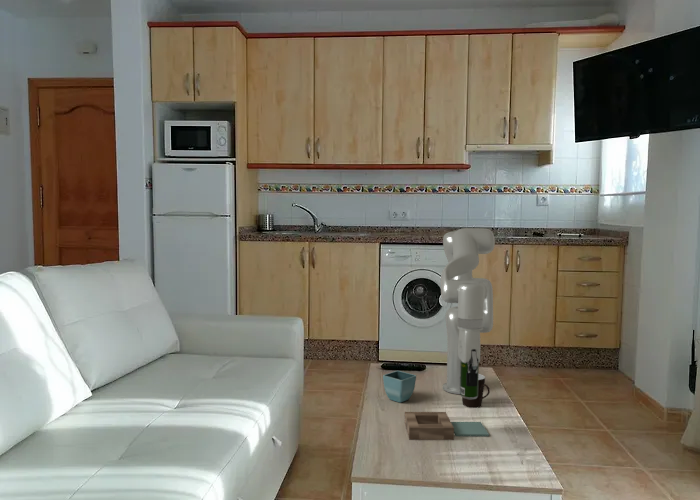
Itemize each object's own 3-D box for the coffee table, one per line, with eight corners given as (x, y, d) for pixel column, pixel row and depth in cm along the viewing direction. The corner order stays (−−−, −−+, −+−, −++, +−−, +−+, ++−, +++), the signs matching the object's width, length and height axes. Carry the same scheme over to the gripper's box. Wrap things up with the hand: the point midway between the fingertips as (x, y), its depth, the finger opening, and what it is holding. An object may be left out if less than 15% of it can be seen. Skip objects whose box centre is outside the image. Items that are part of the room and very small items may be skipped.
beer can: (469, 400, 158) (469, 361, 157) (456, 395, 162) (456, 357, 162) (481, 397, 161) (482, 358, 160) (468, 392, 165) (469, 354, 165)
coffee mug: (456, 400, 189) (456, 372, 188) (480, 400, 190) (480, 372, 189) (466, 412, 177) (466, 382, 177) (491, 411, 178) (491, 382, 177)
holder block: (404, 422, 168) (404, 411, 168) (445, 422, 168) (445, 411, 168) (409, 439, 155) (409, 427, 155) (453, 439, 155) (453, 428, 155)
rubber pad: (448, 423, 167) (449, 421, 167) (480, 423, 167) (480, 421, 167) (455, 436, 157) (455, 434, 157) (489, 436, 157) (489, 434, 157)
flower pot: (416, 399, 189) (417, 375, 189) (401, 406, 183) (401, 380, 183) (397, 394, 195) (397, 370, 195) (382, 400, 189) (382, 375, 189)
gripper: (452, 318, 169) (451, 374, 170) (464, 329, 152) (463, 391, 153) (475, 318, 169) (474, 375, 170) (490, 329, 152) (489, 391, 153)
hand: (469, 382), depth 161 cm, fingers closed on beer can, 5 cm apart
